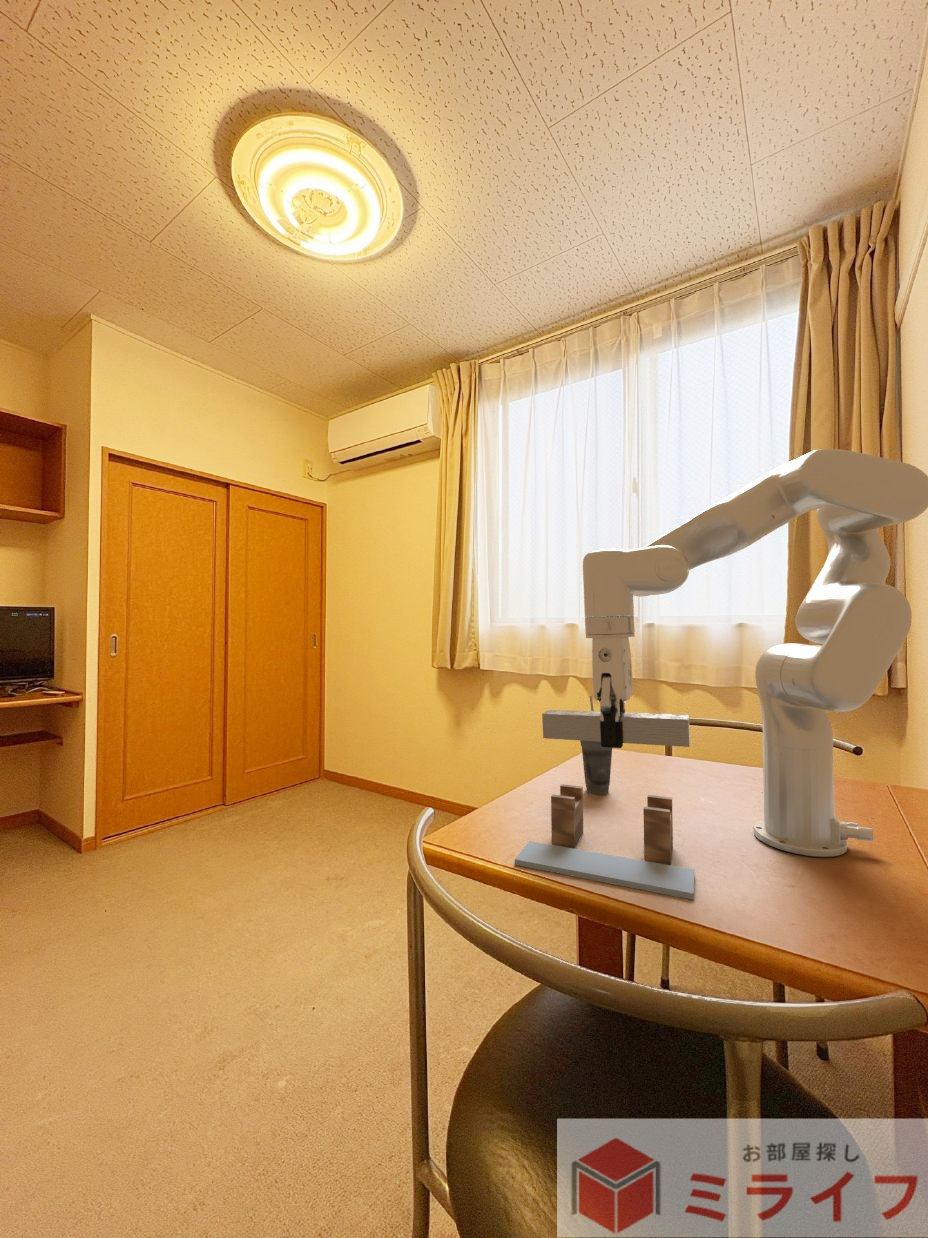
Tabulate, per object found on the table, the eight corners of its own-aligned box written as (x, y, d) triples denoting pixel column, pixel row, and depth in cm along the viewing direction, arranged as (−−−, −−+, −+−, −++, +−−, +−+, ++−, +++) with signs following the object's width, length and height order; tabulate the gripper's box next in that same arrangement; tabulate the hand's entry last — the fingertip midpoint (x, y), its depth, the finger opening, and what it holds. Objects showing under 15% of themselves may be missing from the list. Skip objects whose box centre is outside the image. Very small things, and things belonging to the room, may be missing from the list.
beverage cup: (609, 799, 103) (608, 699, 103) (574, 793, 107) (573, 697, 107) (619, 789, 109) (618, 695, 109) (586, 784, 113) (585, 693, 113)
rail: (690, 741, 79) (688, 714, 79) (689, 747, 75) (688, 719, 75) (549, 733, 88) (548, 709, 88) (543, 738, 85) (542, 713, 85)
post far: (583, 833, 87) (582, 786, 87) (574, 849, 81) (573, 799, 81) (562, 829, 88) (561, 784, 88) (551, 845, 82) (551, 796, 82)
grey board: (694, 875, 72) (694, 869, 72) (693, 900, 66) (693, 893, 66) (529, 846, 82) (529, 840, 82) (514, 864, 76) (514, 859, 76)
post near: (672, 847, 81) (672, 797, 81) (670, 866, 75) (669, 812, 75) (648, 843, 82) (647, 794, 82) (644, 861, 76) (643, 808, 76)
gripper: (627, 628, 73) (632, 759, 73) (640, 626, 88) (644, 734, 88) (574, 630, 76) (579, 755, 76) (595, 627, 91) (599, 731, 91)
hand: (614, 742), depth 82 cm, fingers closed on rail, 4 cm apart
